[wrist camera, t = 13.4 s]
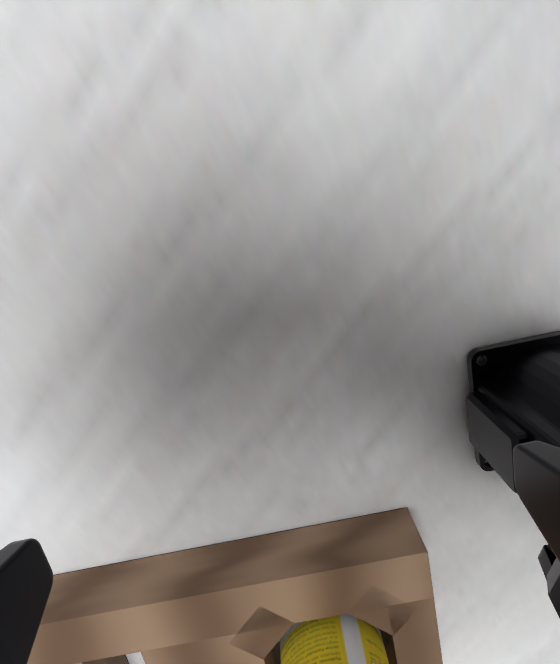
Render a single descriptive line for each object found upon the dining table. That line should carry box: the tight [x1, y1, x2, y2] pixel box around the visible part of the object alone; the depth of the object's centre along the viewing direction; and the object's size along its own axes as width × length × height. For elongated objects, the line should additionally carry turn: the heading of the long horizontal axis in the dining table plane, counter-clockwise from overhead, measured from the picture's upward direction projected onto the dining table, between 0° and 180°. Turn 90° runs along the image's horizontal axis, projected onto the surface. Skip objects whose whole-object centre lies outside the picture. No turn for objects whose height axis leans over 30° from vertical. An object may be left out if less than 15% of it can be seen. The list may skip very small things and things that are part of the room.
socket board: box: [27, 508, 443, 664], centre depth 23 cm, size 21×12×3 cm, turn 102°
